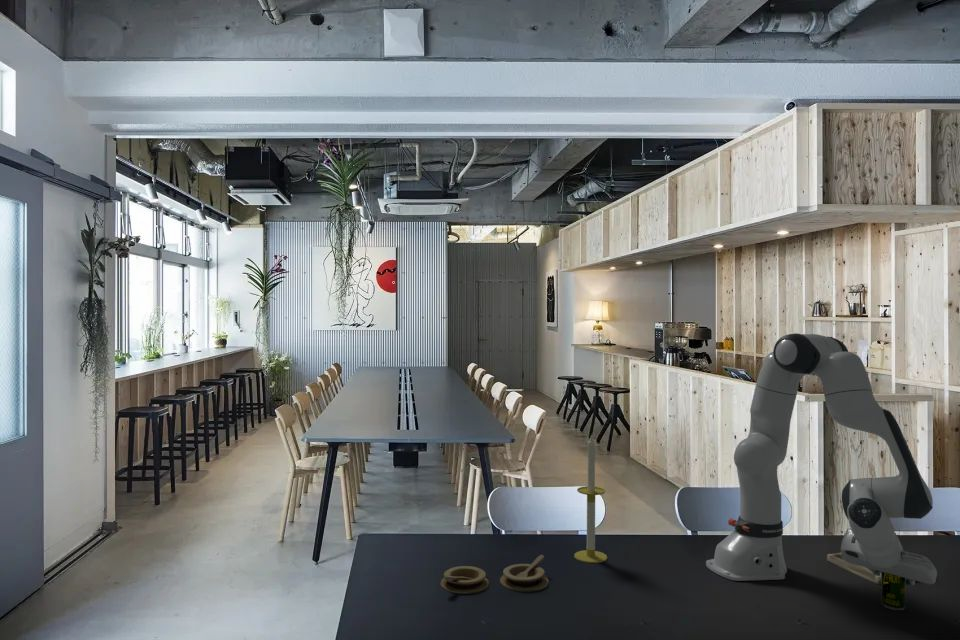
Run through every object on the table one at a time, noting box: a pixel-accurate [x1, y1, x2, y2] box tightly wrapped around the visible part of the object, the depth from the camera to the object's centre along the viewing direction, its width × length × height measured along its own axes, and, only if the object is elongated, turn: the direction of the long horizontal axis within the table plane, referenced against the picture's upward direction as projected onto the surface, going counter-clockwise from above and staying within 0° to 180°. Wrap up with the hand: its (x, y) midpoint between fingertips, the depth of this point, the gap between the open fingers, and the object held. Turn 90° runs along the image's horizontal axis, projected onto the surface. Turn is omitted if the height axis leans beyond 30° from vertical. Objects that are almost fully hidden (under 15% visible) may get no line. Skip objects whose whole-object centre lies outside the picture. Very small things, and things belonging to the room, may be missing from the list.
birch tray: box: [826, 552, 881, 585], centre depth 194 cm, size 18×18×2 cm
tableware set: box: [440, 554, 550, 594], centre depth 183 cm, size 30×20×6 cm, turn 96°
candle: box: [573, 433, 608, 564], centre depth 203 cm, size 10×10×38 cm
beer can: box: [880, 572, 907, 611], centre depth 170 cm, size 5×5×12 cm
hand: (894, 577), depth 170 cm, fingers open, 6 cm apart
